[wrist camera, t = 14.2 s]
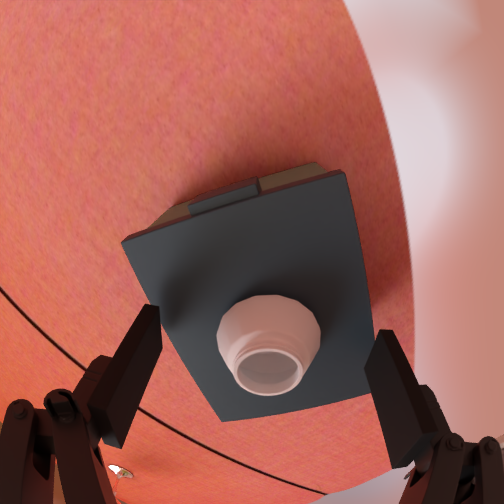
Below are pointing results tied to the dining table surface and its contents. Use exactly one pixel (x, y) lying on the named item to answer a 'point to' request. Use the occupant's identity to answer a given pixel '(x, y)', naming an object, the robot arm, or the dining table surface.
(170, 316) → the box
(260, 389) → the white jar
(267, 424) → the dining table surface
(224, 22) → the dining table surface
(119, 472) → the wineglass
